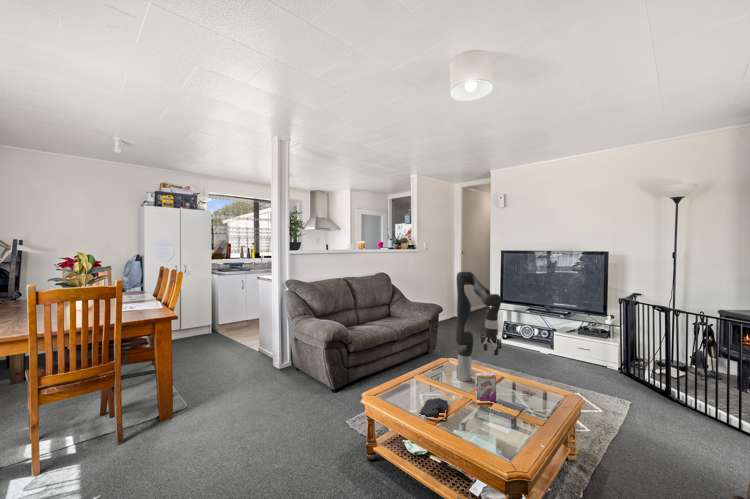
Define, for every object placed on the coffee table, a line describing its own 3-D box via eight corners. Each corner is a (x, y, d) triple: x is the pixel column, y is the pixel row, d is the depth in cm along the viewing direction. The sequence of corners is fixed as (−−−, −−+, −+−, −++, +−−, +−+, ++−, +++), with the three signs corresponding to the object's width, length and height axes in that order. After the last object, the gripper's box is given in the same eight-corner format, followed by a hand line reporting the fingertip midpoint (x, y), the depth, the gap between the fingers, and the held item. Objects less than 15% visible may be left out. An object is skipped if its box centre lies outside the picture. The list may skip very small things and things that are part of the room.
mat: (485, 410, 184) (485, 409, 184) (498, 399, 197) (498, 398, 197) (512, 420, 174) (512, 419, 174) (524, 408, 187) (524, 407, 187)
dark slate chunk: (451, 405, 191) (451, 397, 191) (445, 424, 171) (445, 415, 171) (426, 400, 197) (426, 392, 197) (416, 418, 177) (417, 409, 177)
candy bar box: (477, 403, 192) (476, 375, 192) (475, 399, 197) (474, 372, 197) (496, 404, 191) (496, 376, 191) (494, 400, 196) (493, 373, 196)
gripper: (478, 324, 203) (477, 350, 203) (495, 330, 190) (495, 357, 191) (487, 323, 206) (486, 348, 207) (505, 329, 193) (504, 355, 194)
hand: (490, 352), depth 199 cm, fingers open, 8 cm apart
